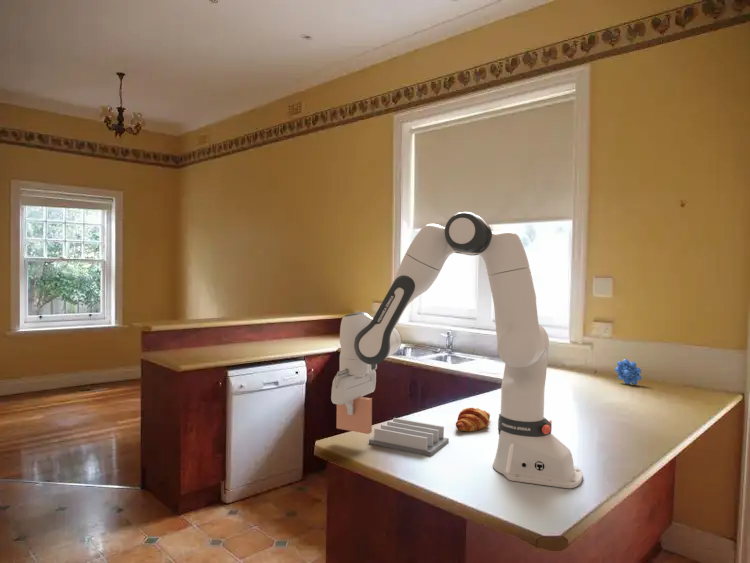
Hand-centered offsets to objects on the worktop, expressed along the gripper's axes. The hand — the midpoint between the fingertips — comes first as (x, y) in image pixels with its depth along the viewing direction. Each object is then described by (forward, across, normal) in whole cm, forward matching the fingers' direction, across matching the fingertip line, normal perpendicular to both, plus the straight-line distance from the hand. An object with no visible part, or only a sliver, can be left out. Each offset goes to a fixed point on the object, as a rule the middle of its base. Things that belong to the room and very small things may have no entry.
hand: (354, 413), depth 156 cm
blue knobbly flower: (+11, +141, -67) cm, 156 cm away
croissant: (+10, +37, -25) cm, 46 cm away
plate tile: (+5, 0, 0) cm, 5 cm away
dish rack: (+10, +10, -14) cm, 19 cm away
